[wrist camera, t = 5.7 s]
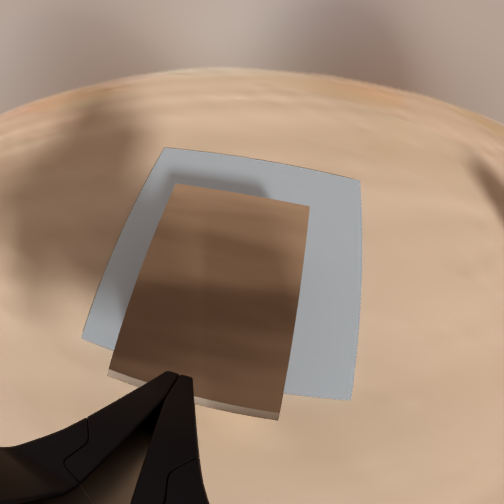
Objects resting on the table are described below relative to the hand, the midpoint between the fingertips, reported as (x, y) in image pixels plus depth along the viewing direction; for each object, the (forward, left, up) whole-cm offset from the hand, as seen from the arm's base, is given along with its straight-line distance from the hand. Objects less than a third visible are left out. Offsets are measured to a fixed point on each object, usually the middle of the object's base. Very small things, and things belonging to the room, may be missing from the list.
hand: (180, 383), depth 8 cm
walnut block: (0, 0, -4) cm, 4 cm away
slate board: (+6, +6, -7) cm, 11 cm away
